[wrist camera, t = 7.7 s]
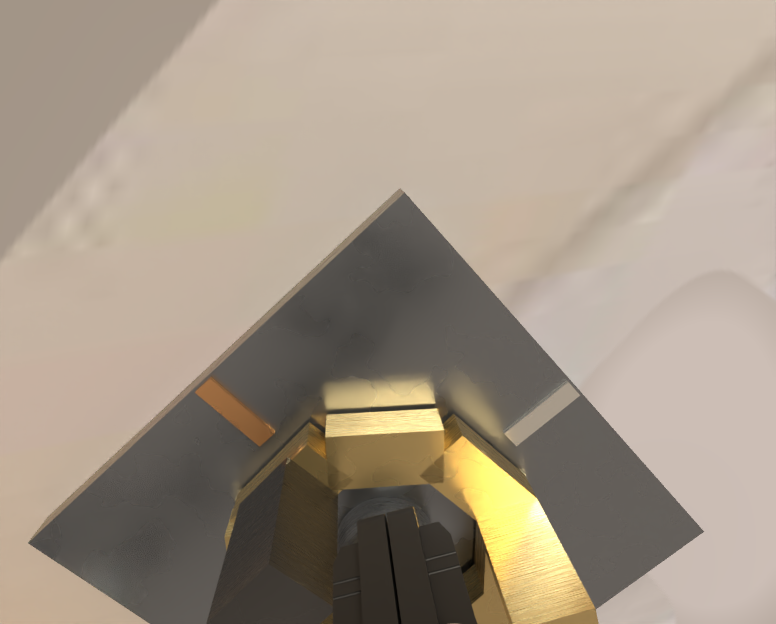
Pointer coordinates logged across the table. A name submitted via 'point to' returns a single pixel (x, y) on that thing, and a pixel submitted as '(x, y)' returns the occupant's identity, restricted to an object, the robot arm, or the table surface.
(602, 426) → the base plate
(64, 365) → the table surface
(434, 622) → the robot arm
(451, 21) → the table surface
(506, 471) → the gold octagonal ring
